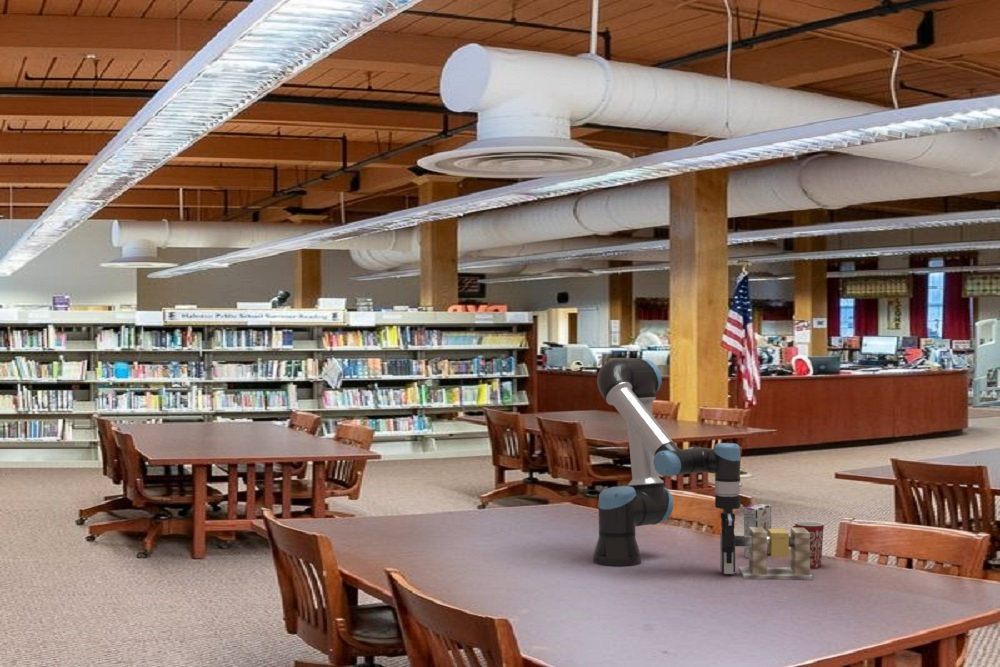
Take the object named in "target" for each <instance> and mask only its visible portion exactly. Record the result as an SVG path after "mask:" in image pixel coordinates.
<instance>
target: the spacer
mask: <svg viewBox="0 0 1000 667" xmlns="http://www.w3.org/2000/svg"><path fill="white" fill-rule="evenodd" d="M789 533H790V532H788V531H787V530H786V529H785V528H771V529H768V536H770V537H771V547H768V553H771V555H770V557H771V558H789V555H790V553H789V550H790V547H789V536H790V534H789Z"/></svg>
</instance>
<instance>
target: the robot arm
mask: <svg viewBox="0 0 1000 667" xmlns="http://www.w3.org/2000/svg"><path fill="white" fill-rule="evenodd" d="M662 380H663V379H662V374H661V370H660V369H659V367H658V365H656V363H654V362H653V361H652V360H649V359H647V358H646V359H644V358H628V359H627V358H626V359H623V358H622V359H620V358H619V359H618V358H617V359H616V358H615V359H611V360H609V361H607V362H605V363H604V364H603V365H602V366H601V368H600V369H599V371H598V374H597V377H596V384H597V388H598V390H599V393H600V395H601V396H602V397H603V400H604V401H605V402H606V403H607V404H608V405H609V406H613V407H614V408H615V409H616V410H617V412H618V413H619V414H620V415H621V416H622V418H623V419H624V421H625V422H626V423H627V433H628V445H629V455H630V465H631V466H630V467H631V468H630V469H631V478H632V479H631V480H630V482H629V483H628V484H627V486H626V485H619V486H610V487H608V488H605V489H603V490H602V491H601V492H600V493H599V495H598V503H597V506H598V538H597V542H596V545H595V548H594V551H593V557H592V559H593V563H595V564H599V565H602V566H611V567H612V566H613V567H616V566H617V567H618V566H619V567H623V566H625V567H626V566H634V565H639V564H641V563H642V555H641V551H640V548H639V545H638V542H637V539H636V527H641V526H648V525H653V526H654V525H658V524H661V523H664V522H666V521H667V520H668V519H669V517H670V516H671V515H672V513H673V510H674V498H673V495H672V493H670V492H671V491H670V490H669V489H668V488H666V487H665V481H664V480H663V479H661V478H660V476H663V477H664V476H665V477H667V476H668V477H674V476H678V475H690V474H699V473H704V474H705V473H706V474H714V493H715V497H714V507H715V508H717V509H721V510H722V512H720V520H721V522H720V525H721V533H724V539H725V549H724V550H722V552H724V572H723V574H724V575H734V572H733V551H734V535H735V521H736V515H735V513H733V512H734V510H737V509H740V508H741V496H740V494H741V488H742V487H743V483H741V459H742V457H741V449H740V444H737V443H732V442H731V443H729V442H721V443H719V442H718V443H716V444H715V446H714V448H707V447H701V446H691V447H688V448H687V449H686V448H685V449H684V448H683V449H680V448H679V447H678V446H677V444H676V443H675V442H674V441H673V439H671V437H670V435H668V433H667V432H666V431H665V430H664V428H663V427H662V426H661V425H660V423H659V422H658V421H657V420H656V419H655V418H654V413H653V403H654V401H655V400H656V398H657V396H656V393H657V392H658V391H659V390H660V389H661V388H660V387H661V385H662ZM659 475H660V476H659Z"/></svg>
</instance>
